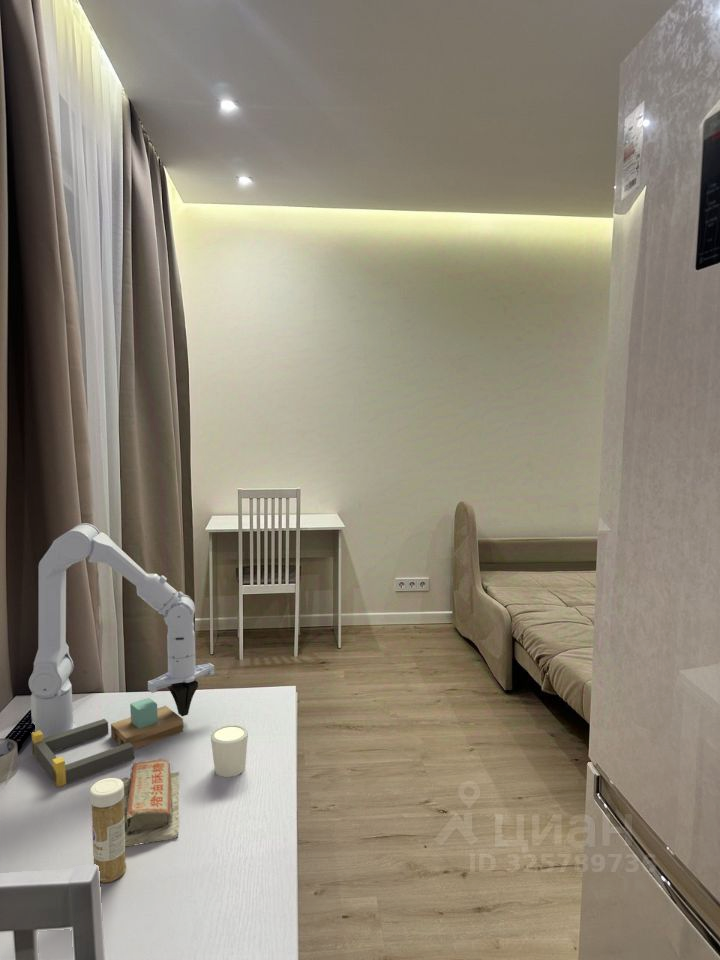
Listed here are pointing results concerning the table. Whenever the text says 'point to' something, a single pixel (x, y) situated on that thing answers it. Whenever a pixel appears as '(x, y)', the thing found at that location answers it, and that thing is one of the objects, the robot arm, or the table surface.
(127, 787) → the packaged product
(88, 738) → the dock
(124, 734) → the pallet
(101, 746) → the table surface
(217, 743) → the white cup
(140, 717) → the block
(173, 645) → the robot arm
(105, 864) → the sprinkles bottle
